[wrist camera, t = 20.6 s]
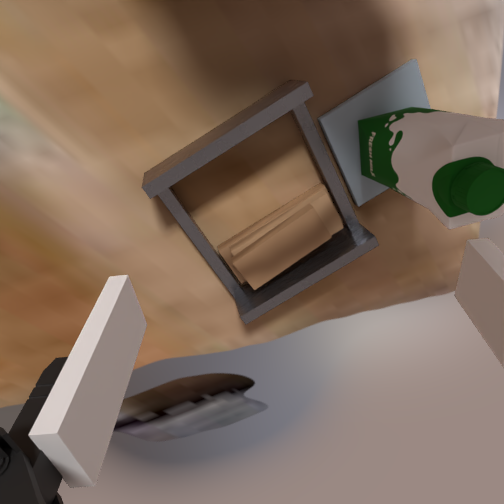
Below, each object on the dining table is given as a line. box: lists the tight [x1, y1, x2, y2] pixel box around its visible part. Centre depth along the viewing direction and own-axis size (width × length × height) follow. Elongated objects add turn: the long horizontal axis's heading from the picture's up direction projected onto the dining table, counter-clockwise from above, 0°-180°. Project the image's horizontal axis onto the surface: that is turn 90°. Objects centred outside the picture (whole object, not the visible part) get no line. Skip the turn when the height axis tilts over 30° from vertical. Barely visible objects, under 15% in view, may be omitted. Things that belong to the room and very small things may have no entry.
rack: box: [142, 80, 379, 324], centre depth 46 cm, size 22×20×6 cm
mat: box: [318, 59, 431, 206], centre depth 48 cm, size 13×13×1 cm
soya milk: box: [358, 107, 504, 229], centre depth 39 cm, size 9×9×20 cm
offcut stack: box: [217, 183, 344, 290], centre depth 49 cm, size 6×16×5 cm, turn 120°
